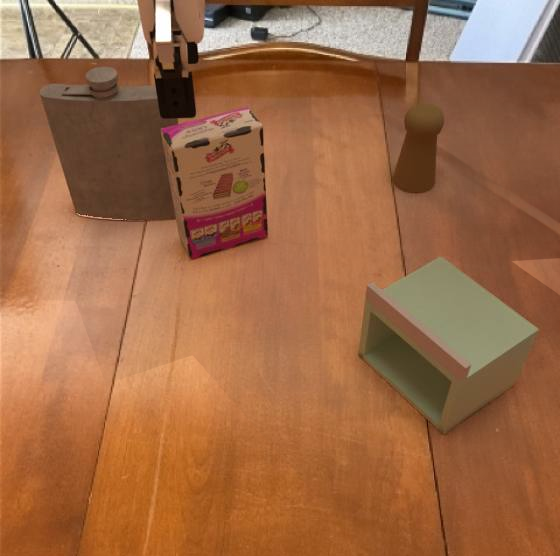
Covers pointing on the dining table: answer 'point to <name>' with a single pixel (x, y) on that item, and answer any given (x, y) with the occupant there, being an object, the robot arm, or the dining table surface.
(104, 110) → the hip flask
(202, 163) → the candy bar box
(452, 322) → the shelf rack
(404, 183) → the brown pawn
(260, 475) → the dining table surface
